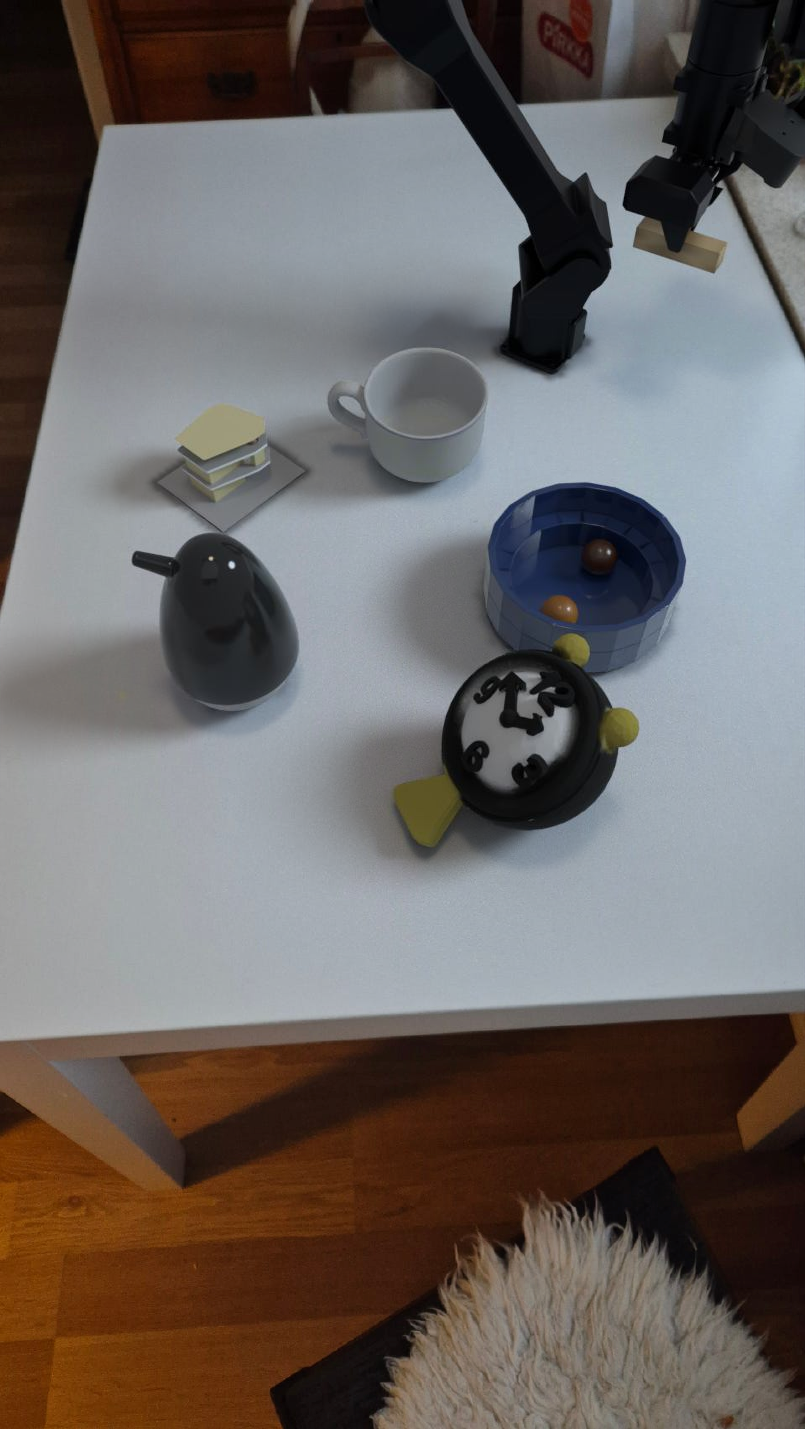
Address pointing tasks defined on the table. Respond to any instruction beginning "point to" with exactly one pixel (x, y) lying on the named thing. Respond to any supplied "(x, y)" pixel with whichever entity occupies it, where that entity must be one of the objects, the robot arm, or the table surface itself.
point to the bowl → (583, 572)
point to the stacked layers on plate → (228, 466)
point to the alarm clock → (522, 745)
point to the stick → (693, 253)
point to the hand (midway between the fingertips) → (679, 244)
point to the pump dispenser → (223, 622)
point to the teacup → (418, 412)
